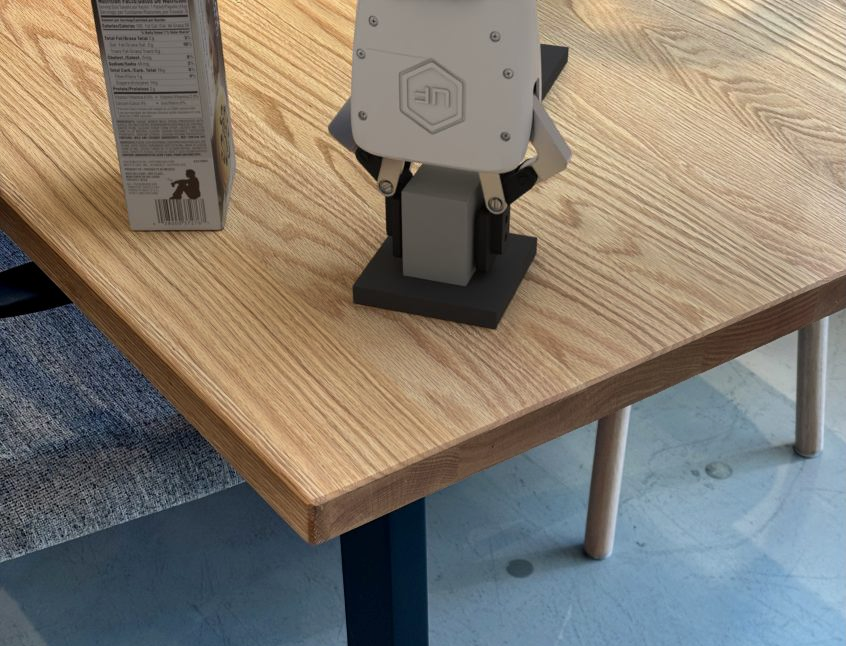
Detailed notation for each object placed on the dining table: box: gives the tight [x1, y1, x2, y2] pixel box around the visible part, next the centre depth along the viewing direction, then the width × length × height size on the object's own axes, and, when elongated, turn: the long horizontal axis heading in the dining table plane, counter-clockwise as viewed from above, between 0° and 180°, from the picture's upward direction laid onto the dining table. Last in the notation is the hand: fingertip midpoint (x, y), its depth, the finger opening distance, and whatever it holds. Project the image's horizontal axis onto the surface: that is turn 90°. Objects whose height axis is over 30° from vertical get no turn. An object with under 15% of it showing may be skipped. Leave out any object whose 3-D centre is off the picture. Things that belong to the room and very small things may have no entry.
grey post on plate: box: [351, 164, 538, 330], centre depth 81 cm, size 9×12×7 cm
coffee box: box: [90, 0, 237, 231], centre depth 84 cm, size 9×6×16 cm
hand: (447, 251), depth 81 cm, fingers open, 4 cm apart
